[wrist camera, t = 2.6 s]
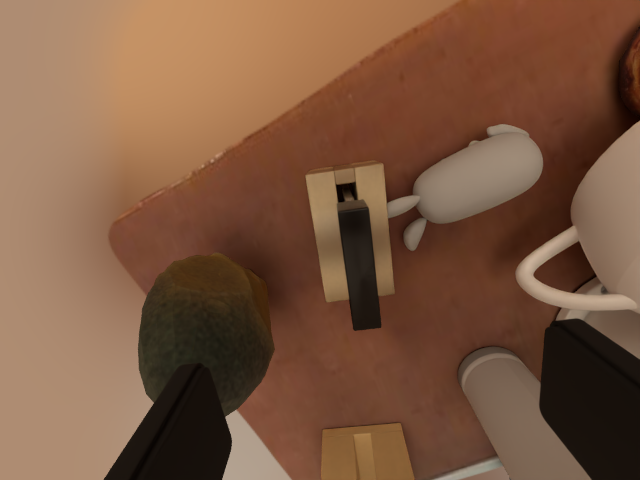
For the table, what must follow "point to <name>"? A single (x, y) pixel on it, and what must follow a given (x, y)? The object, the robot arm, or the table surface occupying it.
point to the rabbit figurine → (472, 180)
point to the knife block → (326, 223)
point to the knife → (359, 261)
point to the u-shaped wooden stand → (365, 453)
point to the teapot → (600, 233)
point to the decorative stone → (207, 327)
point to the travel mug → (515, 417)
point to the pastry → (631, 75)
